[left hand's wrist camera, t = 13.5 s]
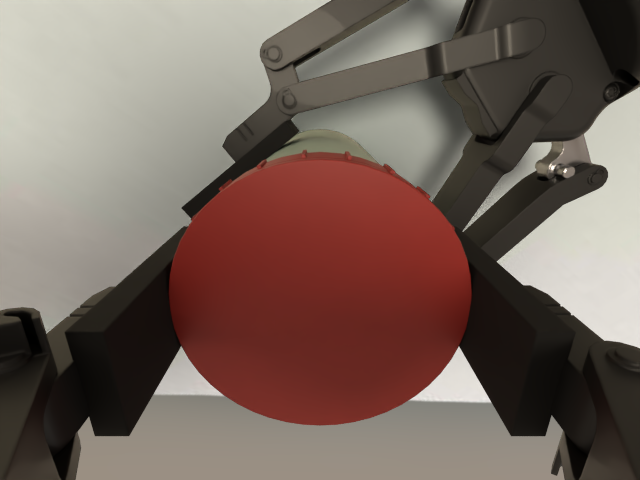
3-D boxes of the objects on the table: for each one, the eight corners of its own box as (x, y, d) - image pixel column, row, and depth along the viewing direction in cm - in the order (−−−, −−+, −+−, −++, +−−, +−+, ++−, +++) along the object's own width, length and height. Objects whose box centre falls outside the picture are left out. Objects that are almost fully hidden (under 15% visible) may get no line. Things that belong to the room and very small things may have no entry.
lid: (509, 287, 12) (536, 313, 10) (319, 428, 14) (319, 467, 12) (321, 79, 9) (322, 75, 8) (131, 285, 12) (104, 312, 10)
